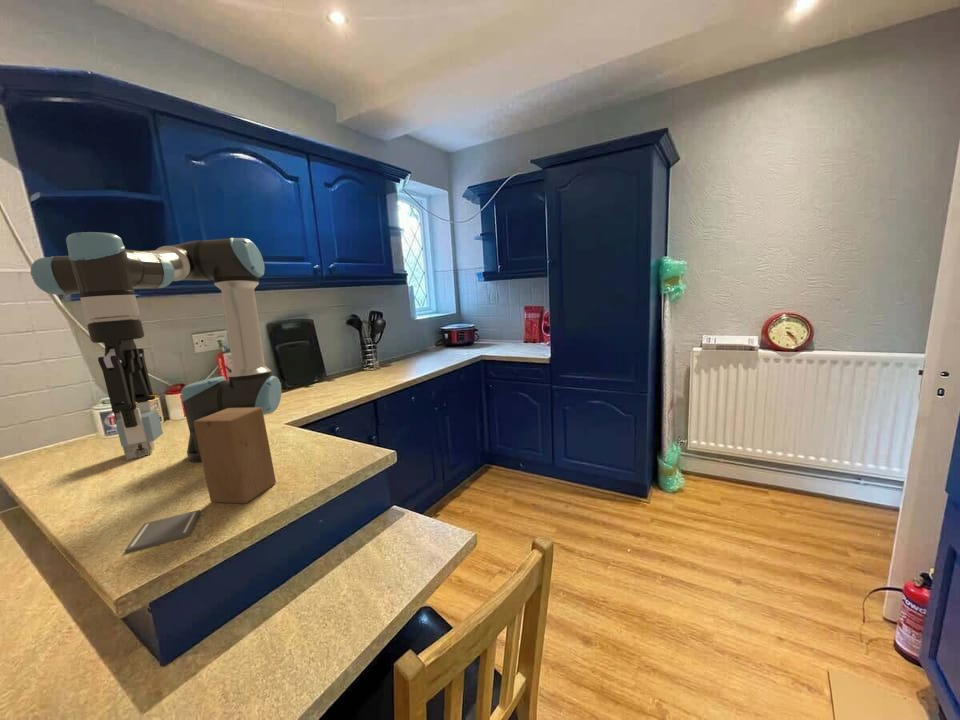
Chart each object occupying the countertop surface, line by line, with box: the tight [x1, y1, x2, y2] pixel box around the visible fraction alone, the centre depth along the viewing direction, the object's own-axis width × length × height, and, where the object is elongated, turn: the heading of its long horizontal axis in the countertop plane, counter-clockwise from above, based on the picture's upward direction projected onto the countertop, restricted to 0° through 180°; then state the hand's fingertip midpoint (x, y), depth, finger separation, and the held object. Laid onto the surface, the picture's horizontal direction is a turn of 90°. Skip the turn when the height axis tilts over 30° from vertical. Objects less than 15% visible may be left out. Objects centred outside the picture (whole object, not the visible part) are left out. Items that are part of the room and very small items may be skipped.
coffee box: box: [113, 412, 155, 461], centre depth 127 cm, size 9×6×16 cm
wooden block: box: [193, 407, 277, 504], centre depth 93 cm, size 10×10×20 cm
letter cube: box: [115, 409, 164, 447], centre depth 77 cm, size 5×5×5 cm
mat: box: [124, 509, 202, 554], centre depth 81 cm, size 10×10×1 cm
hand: (143, 437), depth 77 cm, fingers closed on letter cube, 5 cm apart
